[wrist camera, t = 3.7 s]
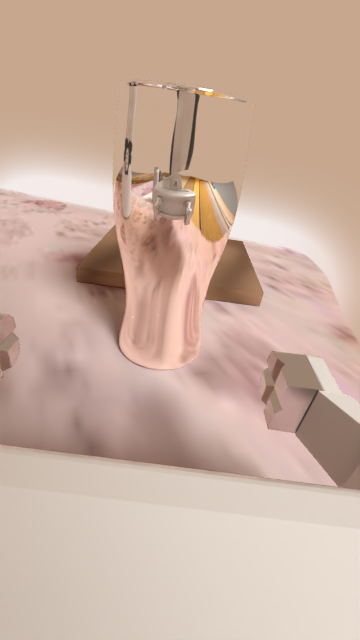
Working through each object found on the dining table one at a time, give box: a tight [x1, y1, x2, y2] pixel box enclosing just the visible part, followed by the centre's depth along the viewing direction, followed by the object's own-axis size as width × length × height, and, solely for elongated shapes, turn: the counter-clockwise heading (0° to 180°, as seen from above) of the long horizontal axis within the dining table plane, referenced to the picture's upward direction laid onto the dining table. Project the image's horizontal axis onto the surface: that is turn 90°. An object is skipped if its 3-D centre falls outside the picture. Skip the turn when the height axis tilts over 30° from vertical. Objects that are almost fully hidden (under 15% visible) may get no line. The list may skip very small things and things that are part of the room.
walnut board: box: [76, 225, 264, 306], centre depth 35 cm, size 18×16×2 cm
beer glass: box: [113, 79, 255, 370], centre depth 18 cm, size 7×7×15 cm
